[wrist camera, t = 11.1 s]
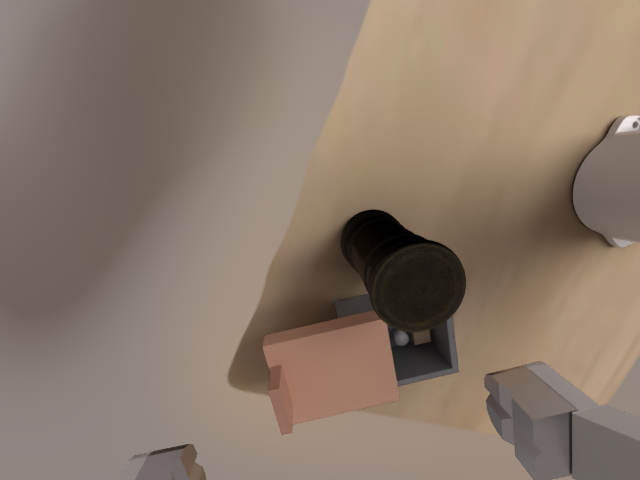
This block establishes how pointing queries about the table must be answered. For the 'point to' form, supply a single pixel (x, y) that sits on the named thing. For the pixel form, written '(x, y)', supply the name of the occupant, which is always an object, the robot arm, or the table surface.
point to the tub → (412, 345)
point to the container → (403, 272)
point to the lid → (330, 368)
